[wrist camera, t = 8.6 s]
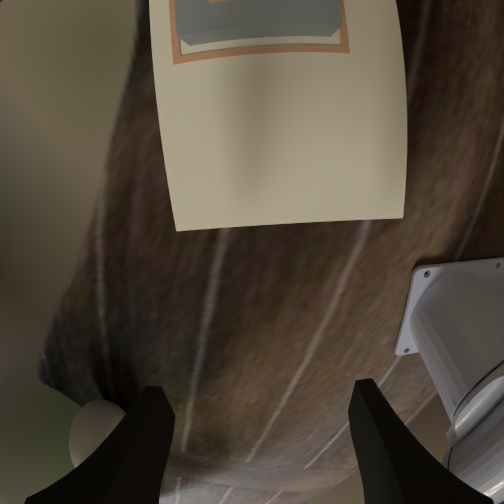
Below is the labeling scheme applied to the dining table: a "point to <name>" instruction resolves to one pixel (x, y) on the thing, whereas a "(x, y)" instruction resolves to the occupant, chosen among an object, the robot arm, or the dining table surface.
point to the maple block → (213, 0)
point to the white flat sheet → (284, 122)
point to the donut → (92, 428)
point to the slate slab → (254, 19)
